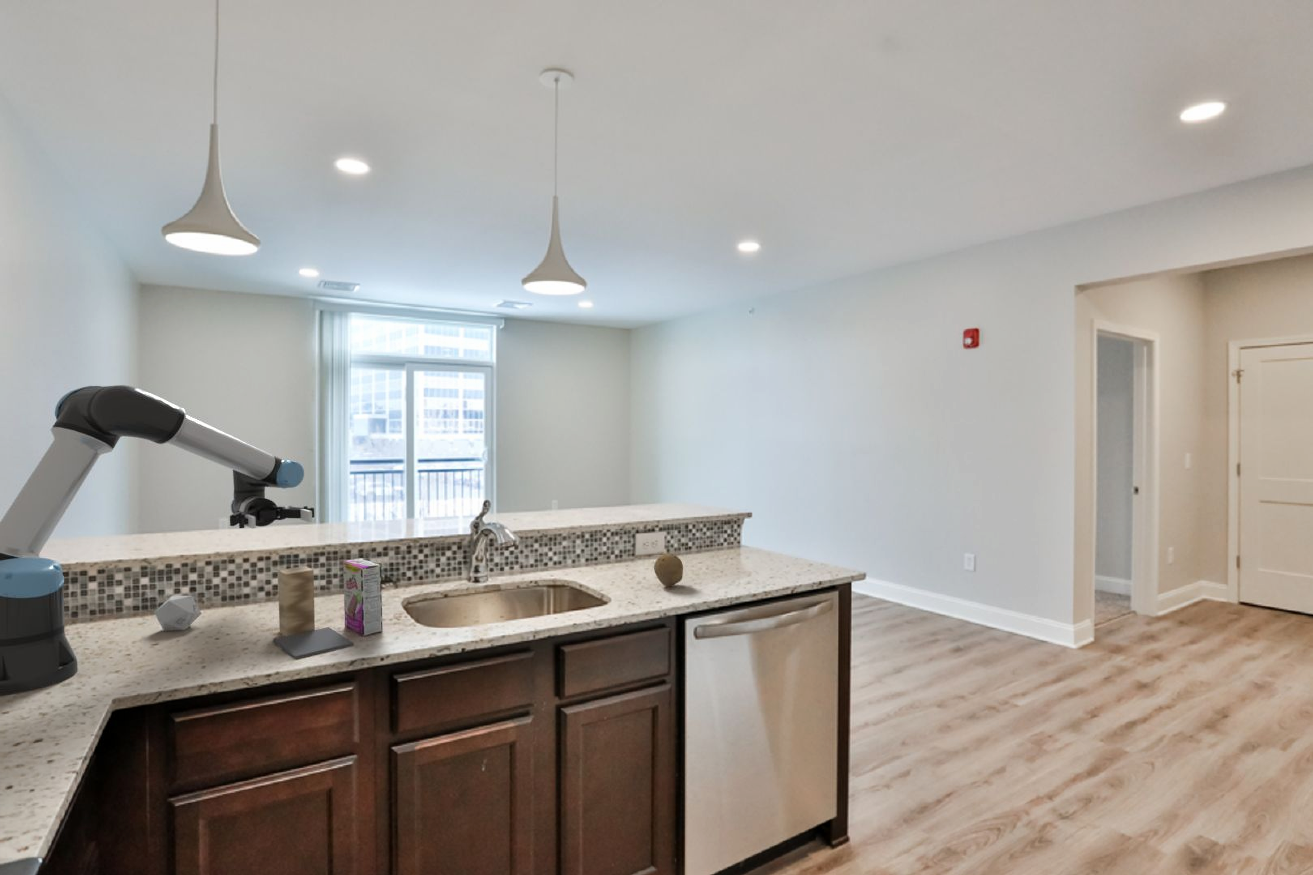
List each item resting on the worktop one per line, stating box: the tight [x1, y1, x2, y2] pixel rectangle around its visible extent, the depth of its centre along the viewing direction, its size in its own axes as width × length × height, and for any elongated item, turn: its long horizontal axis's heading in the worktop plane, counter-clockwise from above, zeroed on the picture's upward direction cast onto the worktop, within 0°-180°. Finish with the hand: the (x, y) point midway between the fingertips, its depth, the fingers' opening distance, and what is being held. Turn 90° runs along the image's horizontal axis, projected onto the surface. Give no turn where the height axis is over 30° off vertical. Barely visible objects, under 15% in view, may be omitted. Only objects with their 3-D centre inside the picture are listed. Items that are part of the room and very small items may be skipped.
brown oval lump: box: [653, 552, 684, 588], centre depth 198 cm, size 9×9×10 cm
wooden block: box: [277, 565, 316, 637], centre depth 157 cm, size 6×6×15 cm
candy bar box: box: [342, 557, 384, 637], centre depth 159 cm, size 11×5×16 cm, turn 47°
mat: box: [272, 626, 355, 660], centre depth 149 cm, size 12×16×1 cm
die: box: [153, 595, 202, 632], centre depth 161 cm, size 8×9×10 cm
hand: (282, 519), depth 163 cm, fingers open, 12 cm apart
